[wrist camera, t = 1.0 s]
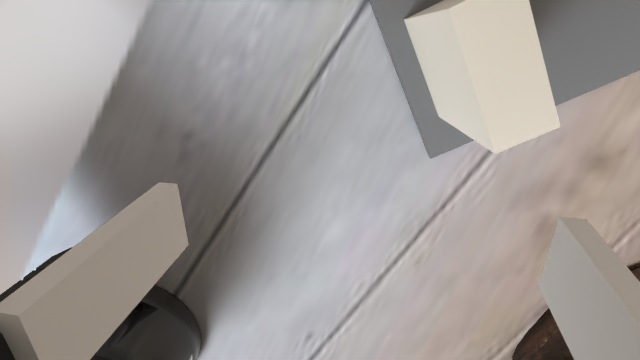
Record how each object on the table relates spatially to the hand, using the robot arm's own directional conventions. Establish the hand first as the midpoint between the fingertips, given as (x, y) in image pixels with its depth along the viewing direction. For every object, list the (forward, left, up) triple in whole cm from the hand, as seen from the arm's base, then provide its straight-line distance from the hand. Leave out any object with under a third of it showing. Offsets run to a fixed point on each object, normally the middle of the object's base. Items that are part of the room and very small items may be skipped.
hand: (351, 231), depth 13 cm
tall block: (+11, 0, -22) cm, 25 cm away
